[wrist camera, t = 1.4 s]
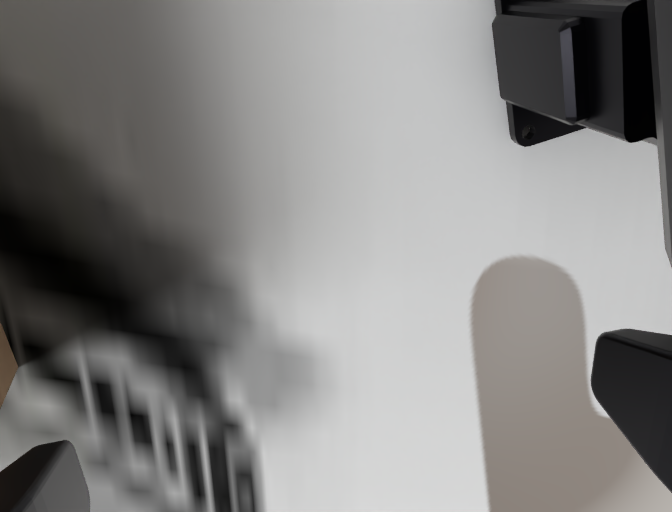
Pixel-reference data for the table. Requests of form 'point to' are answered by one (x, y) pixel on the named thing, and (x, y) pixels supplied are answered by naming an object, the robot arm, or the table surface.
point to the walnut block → (6, 365)
